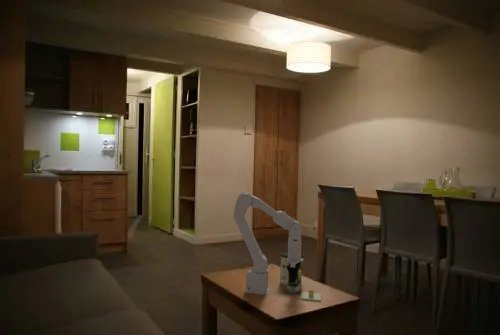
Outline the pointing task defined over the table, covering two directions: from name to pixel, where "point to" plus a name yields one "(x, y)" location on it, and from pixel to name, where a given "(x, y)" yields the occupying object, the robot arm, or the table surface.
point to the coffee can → (284, 272)
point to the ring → (293, 288)
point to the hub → (311, 296)
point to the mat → (293, 294)
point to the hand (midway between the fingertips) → (293, 279)
